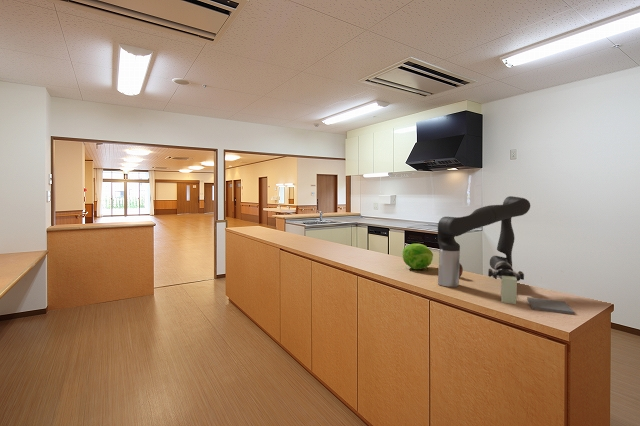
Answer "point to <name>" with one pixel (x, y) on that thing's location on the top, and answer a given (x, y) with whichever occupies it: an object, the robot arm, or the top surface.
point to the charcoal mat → (549, 305)
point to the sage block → (508, 289)
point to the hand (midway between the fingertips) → (506, 277)
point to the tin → (460, 269)
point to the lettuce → (417, 256)
